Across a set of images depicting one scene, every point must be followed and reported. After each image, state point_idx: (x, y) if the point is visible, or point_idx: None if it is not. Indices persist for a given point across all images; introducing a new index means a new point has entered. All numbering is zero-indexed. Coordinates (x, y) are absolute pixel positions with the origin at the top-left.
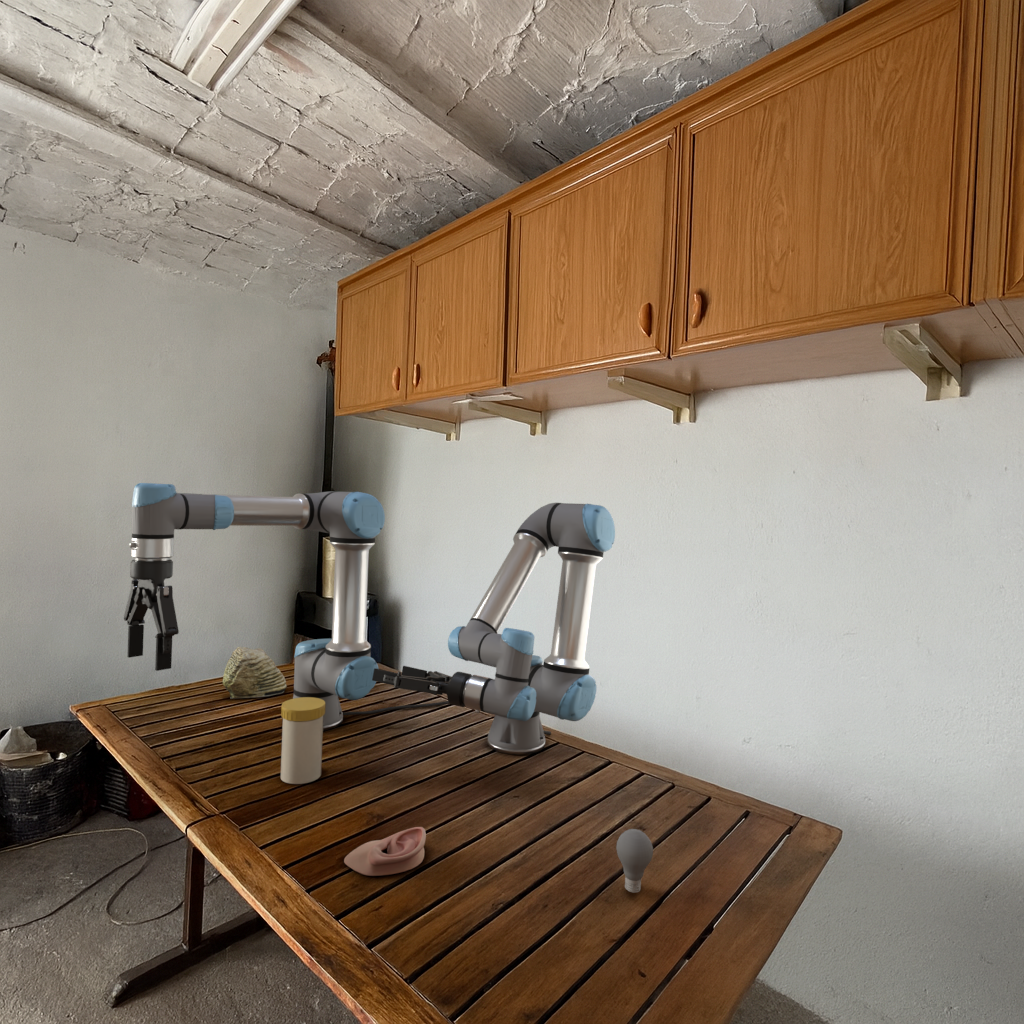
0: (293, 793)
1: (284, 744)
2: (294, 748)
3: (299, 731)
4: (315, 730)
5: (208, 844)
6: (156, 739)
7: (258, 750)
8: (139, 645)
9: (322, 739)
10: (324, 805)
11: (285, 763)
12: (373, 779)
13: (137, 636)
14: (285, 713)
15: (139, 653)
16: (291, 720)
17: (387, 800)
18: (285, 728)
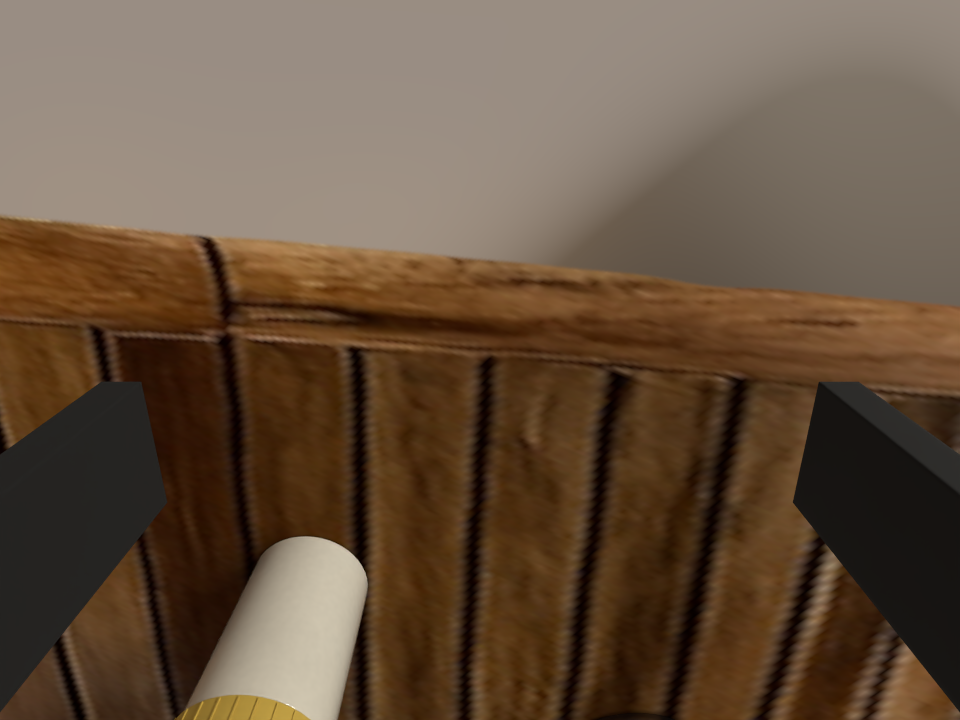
0: (217, 518)
1: (273, 618)
2: (235, 624)
3: (200, 681)
4: None
5: (59, 229)
6: None
7: (563, 590)
8: (862, 543)
9: None
10: None
11: (282, 574)
12: (166, 678)
13: (950, 608)
14: (224, 716)
15: (813, 489)
16: (202, 701)
17: None
18: (251, 665)
